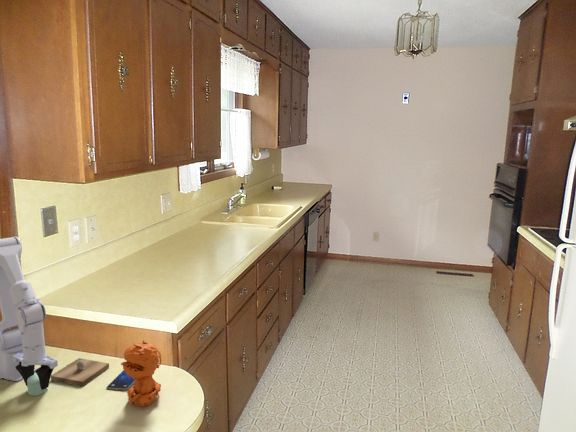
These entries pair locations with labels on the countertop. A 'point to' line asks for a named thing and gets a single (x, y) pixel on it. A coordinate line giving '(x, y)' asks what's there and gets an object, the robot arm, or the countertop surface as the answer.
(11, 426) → the countertop surface
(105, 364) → the stub block
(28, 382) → the cap
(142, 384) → the toy dinosaur
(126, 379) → the smartphone
